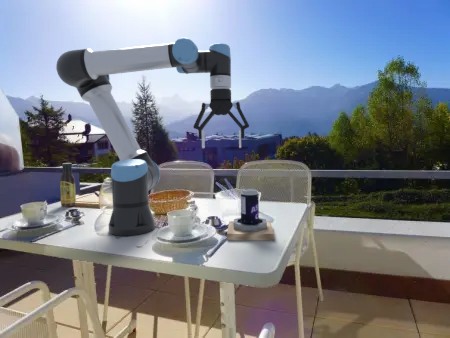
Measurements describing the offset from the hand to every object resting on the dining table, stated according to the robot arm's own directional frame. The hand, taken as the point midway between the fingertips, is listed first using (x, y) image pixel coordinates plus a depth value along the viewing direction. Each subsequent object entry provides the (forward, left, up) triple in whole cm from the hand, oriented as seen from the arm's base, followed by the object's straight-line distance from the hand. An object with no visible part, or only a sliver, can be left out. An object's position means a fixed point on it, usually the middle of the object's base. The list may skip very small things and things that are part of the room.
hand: (221, 148), depth 120 cm
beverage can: (+10, -18, -25) cm, 32 cm away
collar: (+10, -18, -25) cm, 32 cm away
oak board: (+10, -18, -27) cm, 34 cm away
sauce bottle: (-73, +23, -27) cm, 81 cm away
